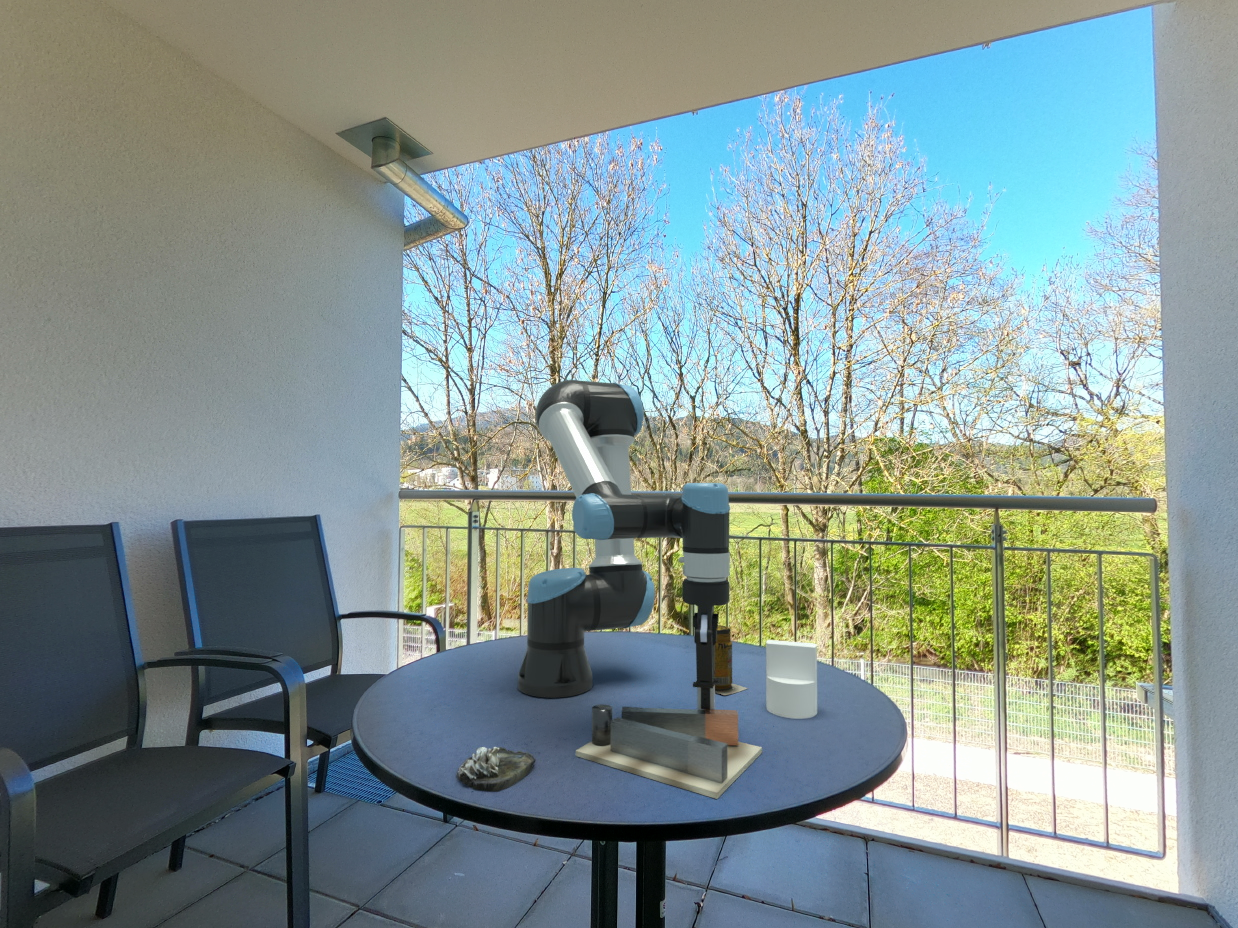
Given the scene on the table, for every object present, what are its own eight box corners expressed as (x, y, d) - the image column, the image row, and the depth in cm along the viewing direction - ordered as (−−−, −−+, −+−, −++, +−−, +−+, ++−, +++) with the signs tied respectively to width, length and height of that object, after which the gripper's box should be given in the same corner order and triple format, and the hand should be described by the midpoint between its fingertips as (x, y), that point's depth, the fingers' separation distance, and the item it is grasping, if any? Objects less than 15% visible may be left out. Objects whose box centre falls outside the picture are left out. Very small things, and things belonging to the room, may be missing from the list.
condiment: (716, 679, 129) (716, 622, 130) (748, 689, 123) (747, 629, 123) (692, 685, 125) (692, 626, 125) (724, 696, 118) (724, 634, 119)
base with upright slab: (817, 704, 114) (817, 639, 115) (816, 721, 106) (816, 651, 106) (768, 698, 117) (768, 635, 118) (763, 714, 109) (763, 647, 109)
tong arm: (621, 740, 95) (621, 710, 95) (622, 735, 97) (622, 705, 97) (738, 745, 93) (738, 714, 93) (736, 739, 95) (736, 710, 95)
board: (575, 755, 91) (575, 750, 91) (634, 720, 106) (634, 716, 106) (717, 798, 79) (717, 792, 79) (762, 752, 93) (761, 747, 93)
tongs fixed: (585, 744, 94) (585, 710, 94) (599, 735, 97) (599, 702, 97) (721, 783, 81) (721, 743, 82) (732, 772, 85) (732, 734, 85)
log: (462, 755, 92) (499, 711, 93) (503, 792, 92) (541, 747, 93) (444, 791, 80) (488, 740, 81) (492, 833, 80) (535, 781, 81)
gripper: (686, 572, 105) (686, 710, 104) (678, 583, 93) (678, 741, 91) (730, 573, 104) (730, 714, 103) (728, 585, 91) (728, 745, 90)
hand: (706, 726), depth 97 cm, fingers closed
